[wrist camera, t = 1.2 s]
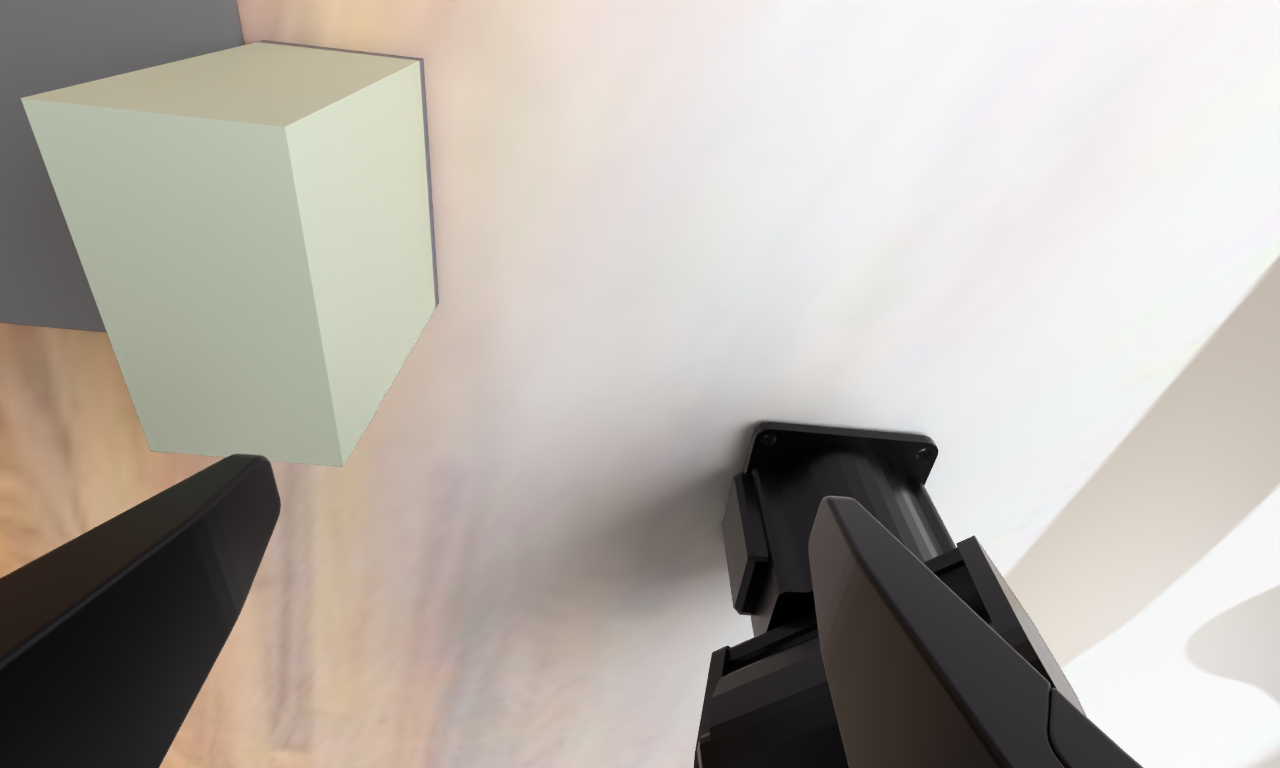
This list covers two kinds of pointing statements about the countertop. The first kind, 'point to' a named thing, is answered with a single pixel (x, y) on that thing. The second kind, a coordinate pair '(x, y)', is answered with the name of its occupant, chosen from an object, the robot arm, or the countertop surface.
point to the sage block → (252, 239)
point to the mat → (8, 151)
